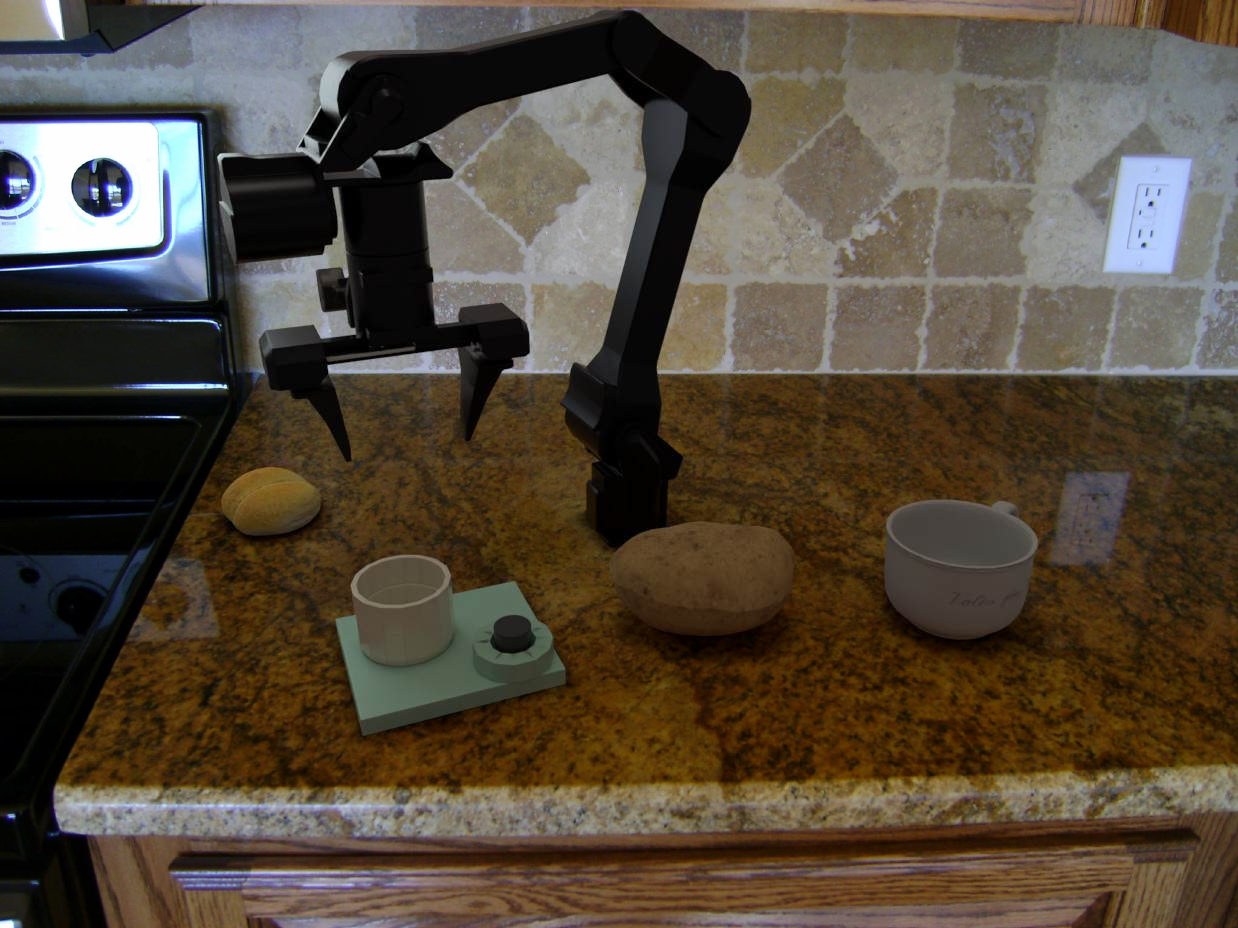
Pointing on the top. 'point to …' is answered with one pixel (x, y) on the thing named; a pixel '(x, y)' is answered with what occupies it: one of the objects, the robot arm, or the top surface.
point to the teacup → (958, 566)
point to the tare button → (512, 634)
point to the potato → (704, 577)
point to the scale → (452, 665)
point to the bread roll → (270, 502)
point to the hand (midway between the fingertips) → (408, 449)
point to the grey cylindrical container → (403, 609)
